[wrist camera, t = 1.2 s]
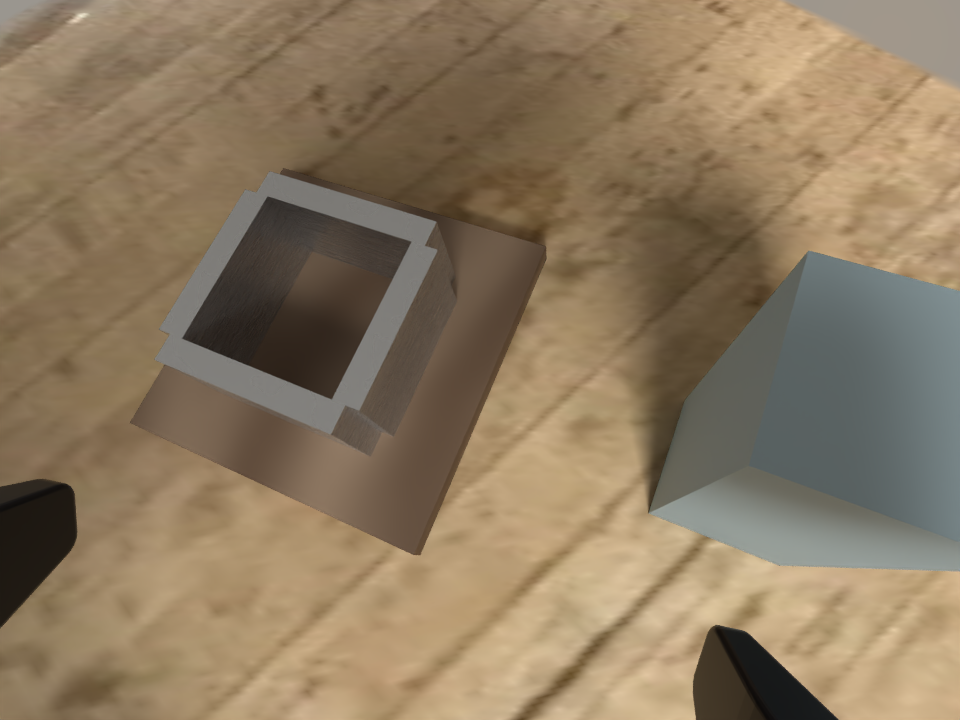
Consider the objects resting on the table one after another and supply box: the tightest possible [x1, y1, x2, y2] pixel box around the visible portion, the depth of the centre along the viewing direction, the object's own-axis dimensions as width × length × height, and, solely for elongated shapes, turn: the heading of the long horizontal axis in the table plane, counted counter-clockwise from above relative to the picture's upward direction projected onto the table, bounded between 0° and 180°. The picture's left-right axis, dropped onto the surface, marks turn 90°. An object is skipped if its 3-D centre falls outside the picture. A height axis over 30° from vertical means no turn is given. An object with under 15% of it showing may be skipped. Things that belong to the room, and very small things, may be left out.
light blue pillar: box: [649, 251, 960, 571], centre depth 15 cm, size 4×4×11 cm
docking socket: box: [130, 168, 546, 555], centre depth 21 cm, size 13×13×5 cm
